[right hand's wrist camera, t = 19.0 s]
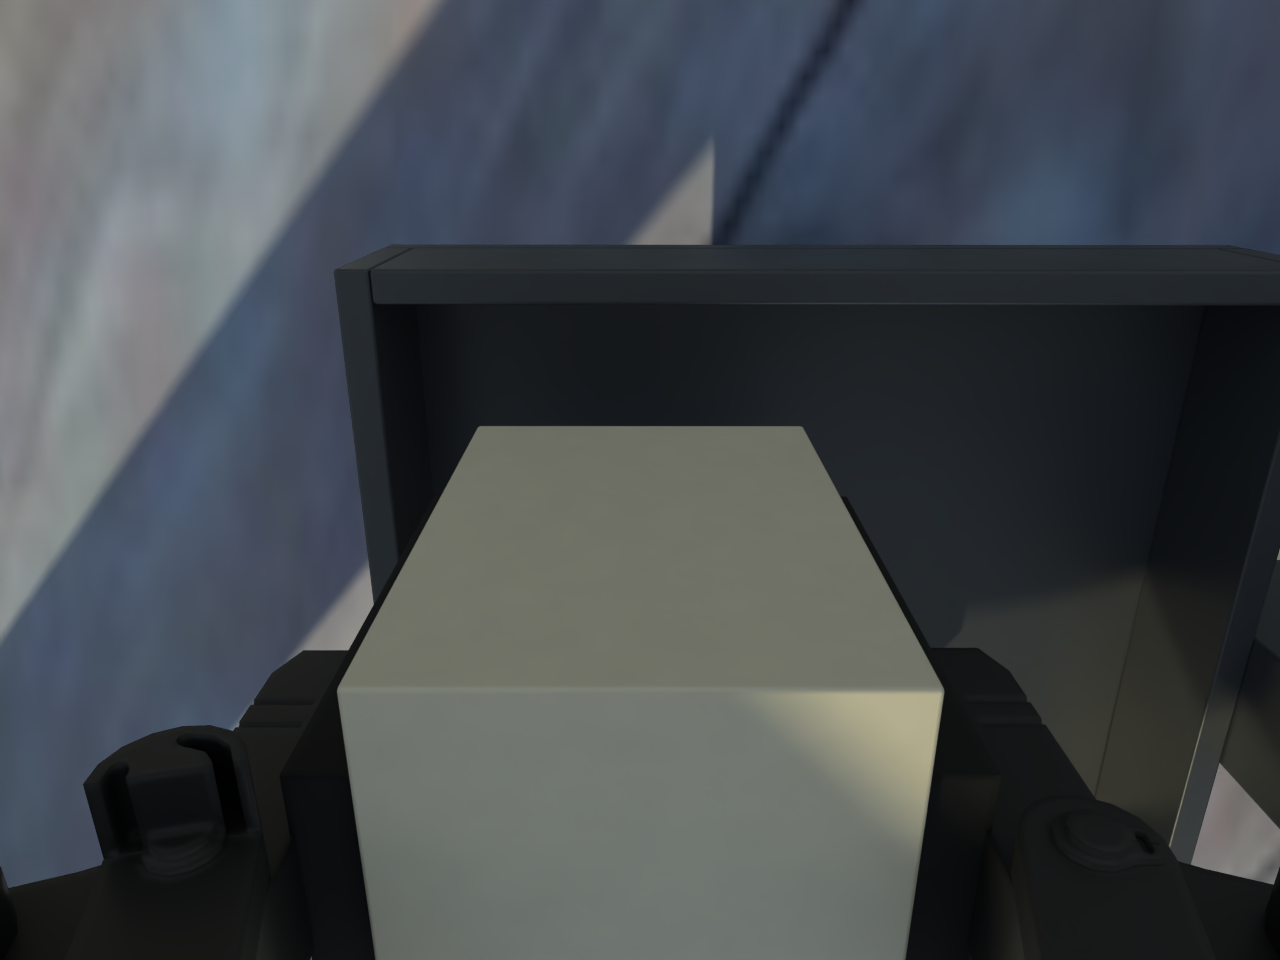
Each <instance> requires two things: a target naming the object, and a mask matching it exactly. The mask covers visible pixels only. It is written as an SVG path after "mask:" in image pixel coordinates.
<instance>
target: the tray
mask: <svg viewBox="0 0 1280 960" xmlns="http://www.w3.org/2000/svg"><path fill="white" fill-rule="evenodd" d="M334 276H335V285H336V293H337V301H338V310H339V318H340V326H341V335H342V343H343V351H344V360H345V368H346V376H347V385H348V393H349V401H350V410H351V418H352V426H353V435H354V443H355V451H356V460H357V468H358V476H359V485H360V493H361V501H362V510H363V518H364V526H365V535H366V543H367V551H368V559H369V568H370V576H371V584H372V593H373V601H374V604H375V602H376V600H377V598H378V596H379V595H380V593H381V591H382V589H383V587H384V586H385V584H386V582H387V580H388V578H389V577H390V575H391V573H392V571H393V569H394V568H395V566H396V564H397V562H398V560H399V559H400V557H401V555H402V553H403V551H404V550H405V548H406V546H407V544H408V542H409V541H410V539H411V537H412V535H413V533H414V532H415V530H416V528H417V526H418V524H419V523H420V521H421V519H422V517H423V515H424V514H425V512H426V510H427V508H428V506H429V505H430V503H431V501H432V499H433V497H434V496H441V495H442V493H443V492H444V490H445V488H446V486H447V484H448V482H449V480H450V479H451V477H452V475H453V473H454V471H455V469H456V467H457V466H458V464H459V462H460V460H461V458H462V456H463V454H464V453H465V451H466V449H467V447H468V445H469V443H470V441H471V440H472V438H473V436H474V434H475V432H476V430H477V428H478V427H480V426H801V427H803V429H804V431H805V433H806V434H807V436H808V438H809V440H810V442H811V444H812V446H813V447H814V449H815V451H816V453H817V455H818V457H819V458H820V460H821V462H822V464H823V466H824V468H825V470H826V471H827V473H828V475H829V477H830V479H831V481H832V483H833V484H834V486H835V488H836V490H837V492H838V494H839V495H840V496H847V498H848V500H849V502H850V503H851V505H852V507H853V509H854V511H855V513H856V514H857V516H858V518H859V520H860V522H861V523H862V525H863V527H864V529H865V531H866V532H867V534H868V536H869V538H870V540H871V541H872V543H873V545H874V547H875V549H876V550H877V552H878V554H879V556H880V558H881V559H882V561H883V563H884V565H885V567H886V568H887V570H888V572H889V574H890V576H891V577H892V579H893V581H894V583H895V585H896V586H897V588H898V590H899V592H900V594H901V595H902V597H903V599H904V601H905V603H906V604H907V606H908V608H909V610H910V612H911V613H912V615H913V617H914V619H915V621H916V622H917V624H918V626H919V628H920V630H921V631H922V633H923V635H924V637H925V639H926V640H927V642H928V644H929V646H930V648H979V649H980V650H981V651H983V652H984V653H986V654H987V655H988V656H990V657H991V658H993V659H994V660H995V661H997V662H998V663H999V664H1001V665H1002V666H1004V667H1005V668H1006V669H1008V670H1009V671H1010V673H1011V674H1012V675H1013V677H1014V678H1015V680H1016V681H1017V683H1018V684H1019V686H1020V687H1021V689H1022V690H1023V692H1024V693H1025V695H1026V696H1027V702H1031V704H1032V705H1033V707H1034V708H1035V709H1036V711H1037V712H1038V714H1039V715H1040V717H1041V718H1042V724H1046V726H1047V727H1048V729H1049V730H1050V732H1051V733H1052V735H1053V736H1054V738H1055V739H1056V741H1057V742H1058V743H1059V745H1060V746H1061V748H1062V749H1063V751H1064V752H1065V754H1066V755H1067V757H1068V758H1069V760H1070V761H1071V763H1072V764H1073V766H1074V767H1075V769H1076V770H1077V772H1078V773H1079V775H1080V776H1081V777H1082V779H1083V780H1084V782H1085V783H1086V785H1087V786H1088V788H1089V789H1090V791H1091V792H1092V794H1093V795H1094V797H1095V798H1096V800H1099V801H1103V802H1107V803H1110V804H1113V805H1115V806H1117V807H1119V808H1121V809H1123V810H1125V811H1127V812H1129V813H1131V814H1133V815H1135V816H1137V817H1139V818H1140V819H1141V820H1143V821H1144V822H1145V823H1146V824H1147V825H1149V826H1150V827H1151V828H1152V829H1154V830H1155V831H1156V832H1157V833H1158V834H1160V835H1161V836H1162V837H1163V838H1164V840H1165V841H1166V843H1167V844H1168V846H1169V848H1170V849H1171V851H1172V852H1173V854H1174V855H1175V857H1176V858H1177V861H1180V862H1183V863H1187V864H1190V865H1191V861H1192V858H1193V854H1194V851H1195V847H1196V844H1197V840H1198V836H1199V833H1200V829H1201V826H1202V822H1203V819H1204V815H1205V812H1206V808H1207V805H1208V801H1209V798H1210V794H1211V790H1212V787H1213V783H1214V780H1215V776H1216V773H1217V769H1218V766H1219V763H1220V764H1221V765H1222V766H1223V767H1224V768H1225V769H1226V770H1227V771H1228V772H1229V774H1230V775H1231V776H1232V777H1233V778H1234V779H1235V780H1236V781H1237V782H1238V784H1239V785H1240V786H1241V787H1242V788H1243V789H1244V790H1245V791H1246V792H1247V793H1248V795H1249V796H1250V797H1251V798H1252V799H1253V800H1254V801H1255V802H1256V803H1257V804H1258V806H1259V807H1260V808H1261V809H1262V810H1263V811H1264V812H1265V813H1266V814H1267V816H1268V817H1269V818H1270V819H1271V820H1272V821H1273V822H1274V823H1275V824H1276V825H1277V827H1278V828H1279V829H1280V560H1277V556H1278V553H1279V549H1280V255H1276V254H1271V253H1266V252H1261V251H1255V250H1250V249H1243V248H1239V247H1234V246H1229V245H390V246H388V247H386V248H383V249H380V250H378V251H376V252H374V253H371V254H369V255H367V256H365V257H362V258H360V259H358V260H356V261H354V262H351V263H349V264H347V265H345V266H342V267H340V268H338V269H336V270H335V271H334ZM968 960H972V957H971V955H970V954H969V959H968Z"/></svg>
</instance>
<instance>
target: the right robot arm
mask: <svg viewBox="0 0 1280 960" xmlns="http://www.w3.org/2000/svg"><path fill="white" fill-rule="evenodd" d="M440 497H441V496H434V497H433V499H432V501H431V503H430V505H429V506H428V508H427V510H426V512H425V514H424V515H423V517H422V519H421V521H420V523H419V524H418V526H417V528H416V530H415V532H414V533H413V535H412V537H411V539H410V541H409V542H408V544H407V546H406V548H405V550H404V551H403V553H402V555H401V557H400V559H399V560H398V562H397V564H396V566H395V568H394V569H393V571H392V573H391V575H390V577H389V578H388V580H387V582H386V584H385V586H384V587H383V589H382V591H381V593H380V595H379V596H378V598H377V600H376V602H375V604H374V605H373V607H372V609H371V611H370V613H369V614H368V616H367V618H366V620H365V622H364V623H363V625H362V627H361V629H360V631H359V633H358V634H357V636H356V638H355V640H354V642H353V643H352V645H351V647H350V649H349V650H303V651H302V652H301V653H299V654H298V655H297V656H295V657H294V658H292V659H291V660H290V661H288V662H287V663H286V664H284V665H283V666H281V667H280V668H279V669H277V670H276V671H274V672H273V673H272V674H271V676H270V677H269V679H268V680H267V682H266V683H265V685H264V686H263V687H262V689H261V690H260V692H259V693H258V695H257V696H256V698H255V699H254V705H250V707H249V708H248V710H247V711H246V713H245V714H244V716H243V717H242V719H241V720H240V722H239V723H240V725H239V727H236V728H235V729H234V731H231V730H227V729H223V728H219V727H215V726H211V725H206V726H182V727H177V728H173V729H169V730H165V731H161V732H157V733H153V734H150V735H148V736H146V737H143V738H141V739H139V740H137V741H134V742H132V743H130V744H128V745H126V746H123V747H122V748H120V749H119V750H117V751H116V752H115V753H113V754H112V755H111V756H109V757H108V758H106V759H105V760H104V761H102V762H101V763H99V764H98V765H97V767H96V768H95V769H94V771H93V772H92V773H91V774H90V776H89V777H88V778H87V780H86V781H85V782H84V784H83V786H84V789H85V793H86V796H87V800H88V804H89V807H90V811H91V814H92V818H93V822H94V825H95V829H96V832H97V836H98V840H99V843H100V847H101V850H102V854H103V858H104V860H103V862H102V865H100V866H97V867H93V868H90V869H87V870H84V871H80V872H77V873H72V874H68V875H64V876H59V877H55V878H51V879H46V880H42V881H38V882H33V883H29V884H25V885H20V886H16V887H12V888H8V887H7V884H6V881H5V878H4V875H3V872H2V869H1V867H0V960H310V958H311V956H312V960H375V953H374V946H373V939H372V932H371V925H370V918H369V911H368V904H367V897H366V890H365V883H364V876H363V869H362V862H361V855H360V849H359V842H358V835H357V828H356V821H355V814H354V807H353V800H352V793H351V786H350V779H349V772H348V765H347V758H346V751H345V744H344V737H343V730H342V723H341V716H340V709H339V702H338V695H337V689H338V686H339V685H340V683H341V681H342V679H343V677H344V675H345V673H346V672H347V670H348V668H349V666H350V664H351V662H352V660H353V659H354V657H355V655H356V653H357V651H358V649H359V647H360V646H361V644H362V642H363V640H364V638H365V636H366V634H367V633H368V631H369V629H370V627H371V625H372V623H373V621H374V620H375V618H376V616H377V614H378V612H379V610H380V608H381V607H382V605H383V603H384V601H385V599H386V597H387V595H388V594H389V592H390V590H391V588H392V586H393V584H394V582H395V581H396V579H397V577H398V575H399V573H400V571H401V569H402V568H403V566H404V564H405V562H406V560H407V558H408V556H409V555H410V553H411V551H412V549H413V547H414V545H415V543H416V542H417V540H418V538H419V536H420V534H421V532H422V531H423V529H424V527H425V525H426V523H427V521H428V519H429V518H430V516H431V514H432V512H433V510H434V508H435V506H436V505H437V503H438V501H439V499H440ZM840 497H841V499H842V501H843V503H844V505H845V507H846V508H847V510H848V512H849V514H850V516H851V518H852V520H853V521H854V523H855V525H856V527H857V529H858V531H859V533H860V534H861V536H862V538H863V540H864V542H865V544H866V545H867V547H868V549H869V551H870V553H871V555H872V557H873V558H874V560H875V562H876V564H877V566H878V568H879V570H880V571H881V573H882V575H883V577H884V579H885V581H886V583H887V584H888V586H889V588H890V590H891V592H892V594H893V595H894V597H895V599H896V601H897V603H898V605H899V607H900V608H901V610H902V612H903V614H904V616H905V618H906V620H907V621H908V623H909V625H910V627H911V629H912V631H913V632H914V634H915V636H916V638H917V640H918V642H919V644H920V645H921V647H922V649H923V651H924V653H925V655H926V657H927V658H928V660H929V662H930V664H931V666H932V668H933V670H934V671H935V673H936V675H937V677H938V679H939V681H940V682H941V684H942V686H943V688H944V698H943V705H942V712H941V718H940V725H939V732H938V739H937V746H936V753H935V760H934V767H933V773H932V780H931V787H930V794H929V801H928V808H927V815H926V821H925V828H924V835H923V842H922V849H921V856H920V863H919V869H918V876H917V883H916V890H915V897H914V904H913V911H912V918H911V924H910V931H909V938H908V945H907V952H906V959H905V960H968V959H969V954H970V955H971V957H972V960H1280V868H1279V871H1278V874H1277V877H1276V880H1275V883H1274V885H1272V884H1268V883H1264V882H1259V881H1255V880H1251V879H1246V878H1242V877H1238V876H1233V875H1229V874H1225V873H1220V872H1216V871H1212V870H1207V869H1203V868H1200V867H1196V866H1193V865H1190V864H1187V863H1183V862H1180V861H1177V858H1176V857H1175V855H1174V854H1173V852H1172V851H1171V849H1170V848H1169V846H1168V844H1167V843H1166V841H1165V840H1164V838H1163V837H1162V836H1161V835H1160V834H1158V833H1157V832H1156V831H1155V830H1154V829H1152V828H1151V827H1150V826H1149V825H1147V824H1146V823H1145V822H1144V821H1143V820H1141V819H1140V818H1139V817H1137V816H1135V815H1133V814H1131V813H1129V812H1127V811H1125V810H1123V809H1121V808H1119V807H1117V806H1115V805H1113V804H1110V803H1107V802H1103V801H1099V800H1096V798H1095V797H1094V795H1093V794H1092V792H1091V791H1090V789H1089V788H1088V786H1087V785H1086V783H1085V782H1084V780H1083V779H1082V777H1081V776H1080V775H1079V773H1078V772H1077V770H1076V769H1075V767H1074V766H1073V764H1072V763H1071V761H1070V760H1069V758H1068V757H1067V755H1066V754H1065V752H1064V751H1063V749H1062V748H1061V746H1060V745H1059V743H1058V742H1057V741H1056V739H1055V738H1054V736H1053V735H1052V733H1051V732H1050V730H1049V729H1048V727H1047V726H1046V724H1042V718H1041V717H1040V715H1039V714H1038V712H1037V711H1036V709H1035V708H1034V707H1033V705H1032V704H1031V702H1027V696H1026V695H1025V693H1024V692H1023V690H1022V689H1021V687H1020V686H1019V684H1018V683H1017V681H1016V680H1015V678H1014V677H1013V675H1012V674H1011V673H1010V671H1009V670H1008V669H1006V668H1005V667H1004V666H1002V665H1001V664H999V663H998V662H997V661H995V660H994V659H993V658H991V657H990V656H988V655H987V654H986V653H984V652H983V651H981V650H980V649H979V648H930V646H929V644H928V642H927V640H926V639H925V637H924V635H923V633H922V631H921V630H920V628H919V626H918V624H917V622H916V621H915V619H914V617H913V615H912V613H911V612H910V610H909V608H908V606H907V604H906V603H905V601H904V599H903V597H902V595H901V594H900V592H899V590H898V588H897V586H896V585H895V583H894V581H893V579H892V577H891V576H890V574H889V572H888V570H887V568H886V567H885V565H884V563H883V561H882V559H881V558H880V556H879V554H878V552H877V550H876V549H875V547H874V545H873V543H872V541H871V540H870V538H869V536H868V534H867V532H866V531H865V529H864V527H863V525H862V523H861V522H860V520H859V518H858V516H857V514H856V513H855V511H854V509H853V507H852V505H851V503H850V502H849V500H848V498H847V496H840Z"/></svg>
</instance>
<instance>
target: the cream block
mask: <svg viewBox="0 0 1280 960" xmlns="http://www.w3.org/2000/svg"><path fill="white" fill-rule="evenodd" d="M337 695H338V702H339V709H340V716H341V723H342V730H343V737H344V744H345V751H346V758H347V765H348V772H349V779H350V786H351V793H352V800H353V807H354V814H355V821H356V828H357V835H358V842H359V849H360V855H361V862H362V869H363V876H364V883H365V890H366V897H367V904H368V911H369V918H370V925H371V932H372V939H373V946H374V953H375V960H905V959H906V952H907V945H908V938H909V931H910V924H911V918H912V911H913V904H914V897H915V890H916V883H917V876H918V869H919V863H920V856H921V849H922V842H923V835H924V828H925V821H926V815H927V808H928V801H929V794H930V787H931V780H932V773H933V767H934V760H935V753H936V746H937V739H938V732H939V725H940V718H941V712H942V705H943V698H944V688H943V686H942V684H941V682H940V681H939V679H938V677H937V675H936V673H935V671H934V670H933V668H932V666H931V664H930V662H929V660H928V658H927V657H926V655H925V653H924V651H923V649H922V647H921V645H920V644H919V642H918V640H917V638H916V636H915V634H914V632H913V631H912V629H911V627H910V625H909V623H908V621H907V620H906V618H905V616H904V614H903V612H902V610H901V608H900V607H899V605H898V603H897V601H896V599H895V597H894V595H893V594H892V592H891V590H890V588H889V586H888V584H887V583H886V581H885V579H884V577H883V575H882V573H881V571H880V570H879V568H878V566H877V564H876V562H875V560H874V558H873V557H872V555H871V553H870V551H869V549H868V547H867V545H866V544H865V542H864V540H863V538H862V536H861V534H860V533H859V531H858V529H857V527H856V525H855V523H854V521H853V520H852V518H851V516H850V514H849V512H848V510H847V508H846V507H845V505H844V503H843V501H842V499H841V497H840V495H839V494H838V492H837V490H836V488H835V486H834V484H833V483H832V481H831V479H830V477H829V475H828V473H827V471H826V470H825V468H824V466H823V464H822V462H821V460H820V458H819V457H818V455H817V453H816V451H815V449H814V447H813V446H812V444H811V442H810V440H809V438H808V436H807V434H806V433H805V431H804V429H803V427H801V426H480V427H478V428H477V430H476V432H475V434H474V436H473V438H472V440H471V441H470V443H469V445H468V447H467V449H466V451H465V453H464V454H463V456H462V458H461V460H460V462H459V464H458V466H457V467H456V469H455V471H454V473H453V475H452V477H451V479H450V480H449V482H448V484H447V486H446V488H445V490H444V492H443V493H442V495H441V497H440V499H439V501H438V503H437V505H436V506H435V508H434V510H433V512H432V514H431V516H430V518H429V519H428V521H427V523H426V525H425V527H424V529H423V531H422V532H421V534H420V536H419V538H418V540H417V542H416V543H415V545H414V547H413V549H412V551H411V553H410V555H409V556H408V558H407V560H406V562H405V564H404V566H403V568H402V569H401V571H400V573H399V575H398V577H397V579H396V581H395V582H394V584H393V586H392V588H391V590H390V592H389V594H388V595H387V597H386V599H385V601H384V603H383V605H382V607H381V608H380V610H379V612H378V614H377V616H376V618H375V620H374V621H373V623H372V625H371V627H370V629H369V631H368V633H367V634H366V636H365V638H364V640H363V642H362V644H361V646H360V647H359V649H358V651H357V653H356V655H355V657H354V659H353V660H352V662H351V664H350V666H349V668H348V670H347V672H346V673H345V675H344V677H343V679H342V681H341V683H340V685H339V686H338V689H337Z"/></svg>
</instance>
